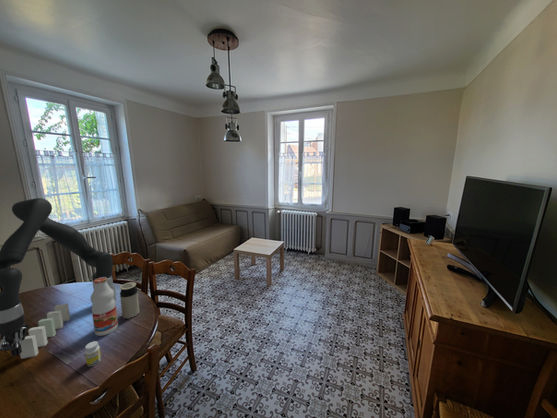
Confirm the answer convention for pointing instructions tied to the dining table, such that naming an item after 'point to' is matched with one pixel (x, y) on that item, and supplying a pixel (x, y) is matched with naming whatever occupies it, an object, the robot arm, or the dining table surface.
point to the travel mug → (129, 300)
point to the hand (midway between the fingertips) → (17, 354)
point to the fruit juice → (103, 308)
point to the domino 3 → (48, 326)
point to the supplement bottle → (92, 353)
